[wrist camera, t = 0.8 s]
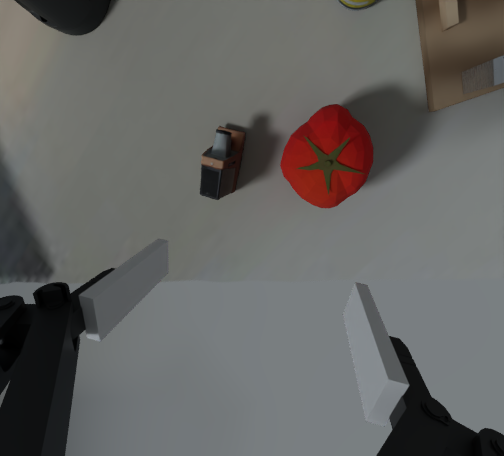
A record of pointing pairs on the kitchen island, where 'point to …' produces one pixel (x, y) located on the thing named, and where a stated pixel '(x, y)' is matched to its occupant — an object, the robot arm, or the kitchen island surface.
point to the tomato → (328, 157)
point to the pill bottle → (356, 4)
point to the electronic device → (222, 163)
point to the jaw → (483, 75)
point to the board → (457, 45)
